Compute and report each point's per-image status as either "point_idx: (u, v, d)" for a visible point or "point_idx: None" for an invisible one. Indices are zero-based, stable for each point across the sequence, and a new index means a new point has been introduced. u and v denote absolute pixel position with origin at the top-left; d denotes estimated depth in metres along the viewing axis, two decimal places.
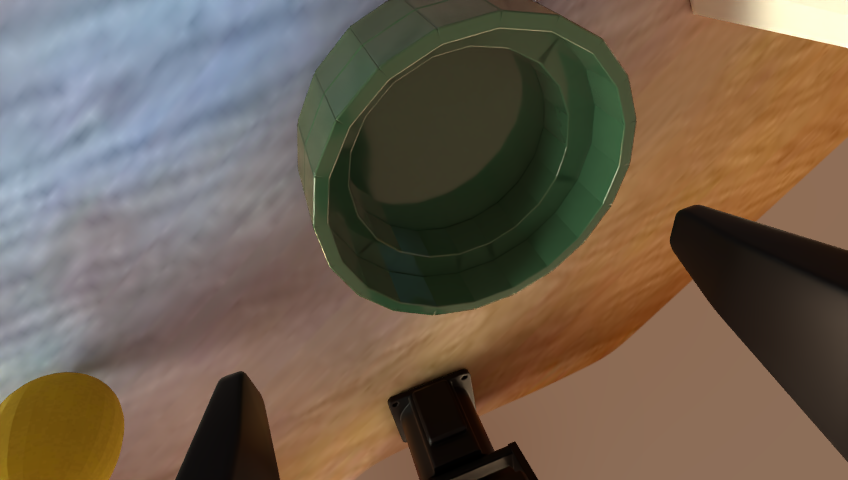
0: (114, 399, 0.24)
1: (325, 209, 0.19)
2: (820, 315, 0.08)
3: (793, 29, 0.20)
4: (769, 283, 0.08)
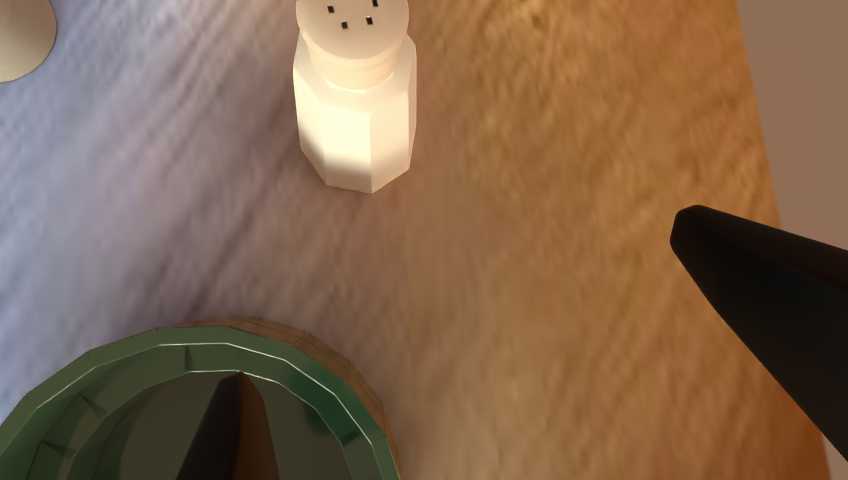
0: None
1: None
2: (820, 316, 0.08)
3: (360, 150, 0.17)
4: (769, 283, 0.08)
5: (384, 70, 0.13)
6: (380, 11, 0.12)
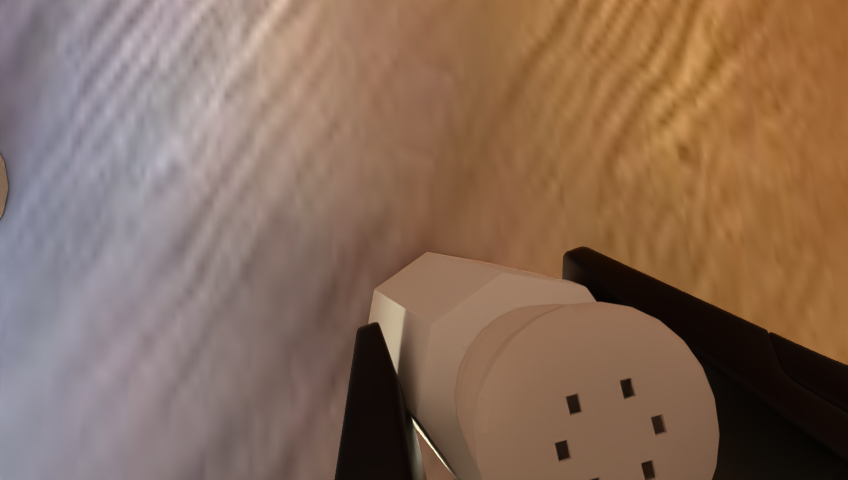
0: None
1: None
2: None
3: None
4: None
5: None
6: (670, 442, 0.05)
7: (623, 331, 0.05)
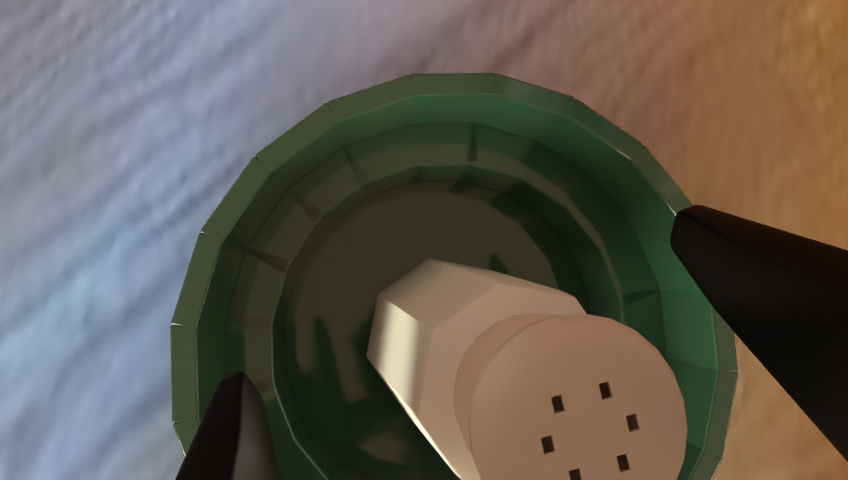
0: None
1: None
2: (820, 315, 0.08)
3: None
4: (769, 283, 0.08)
5: None
6: (642, 438, 0.06)
7: (602, 340, 0.06)
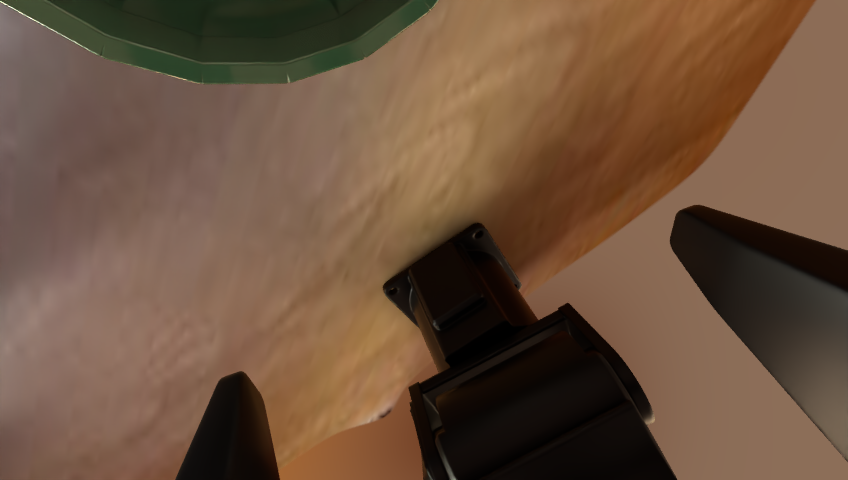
0: None
1: None
2: (820, 316, 0.08)
3: None
4: (769, 283, 0.08)
5: None
6: None
7: None
